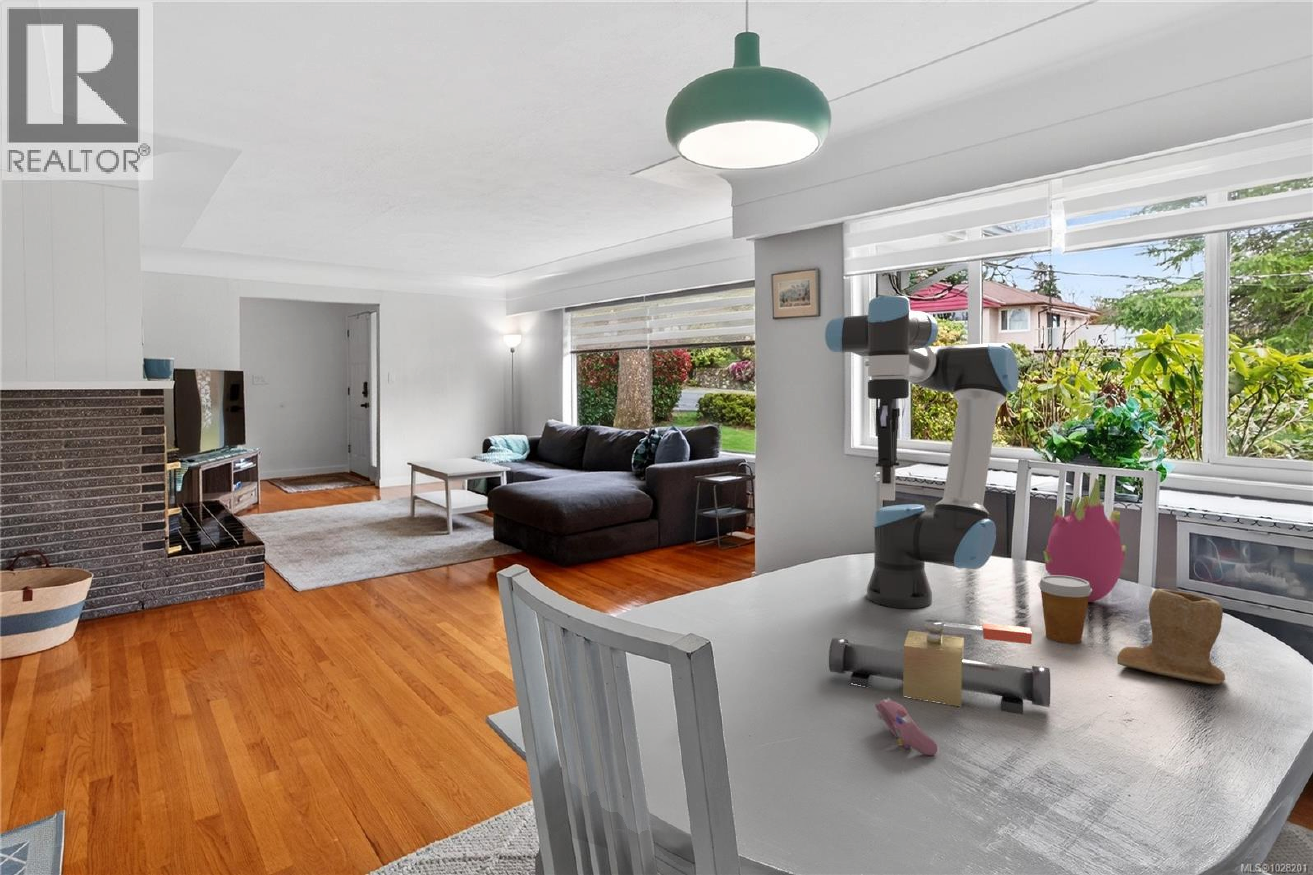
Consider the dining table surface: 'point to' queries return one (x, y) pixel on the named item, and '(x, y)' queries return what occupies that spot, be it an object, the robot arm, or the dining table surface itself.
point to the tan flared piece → (1179, 638)
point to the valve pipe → (940, 671)
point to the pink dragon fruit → (1086, 545)
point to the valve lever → (982, 631)
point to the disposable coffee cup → (1064, 606)
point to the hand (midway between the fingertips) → (887, 499)
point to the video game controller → (904, 727)
